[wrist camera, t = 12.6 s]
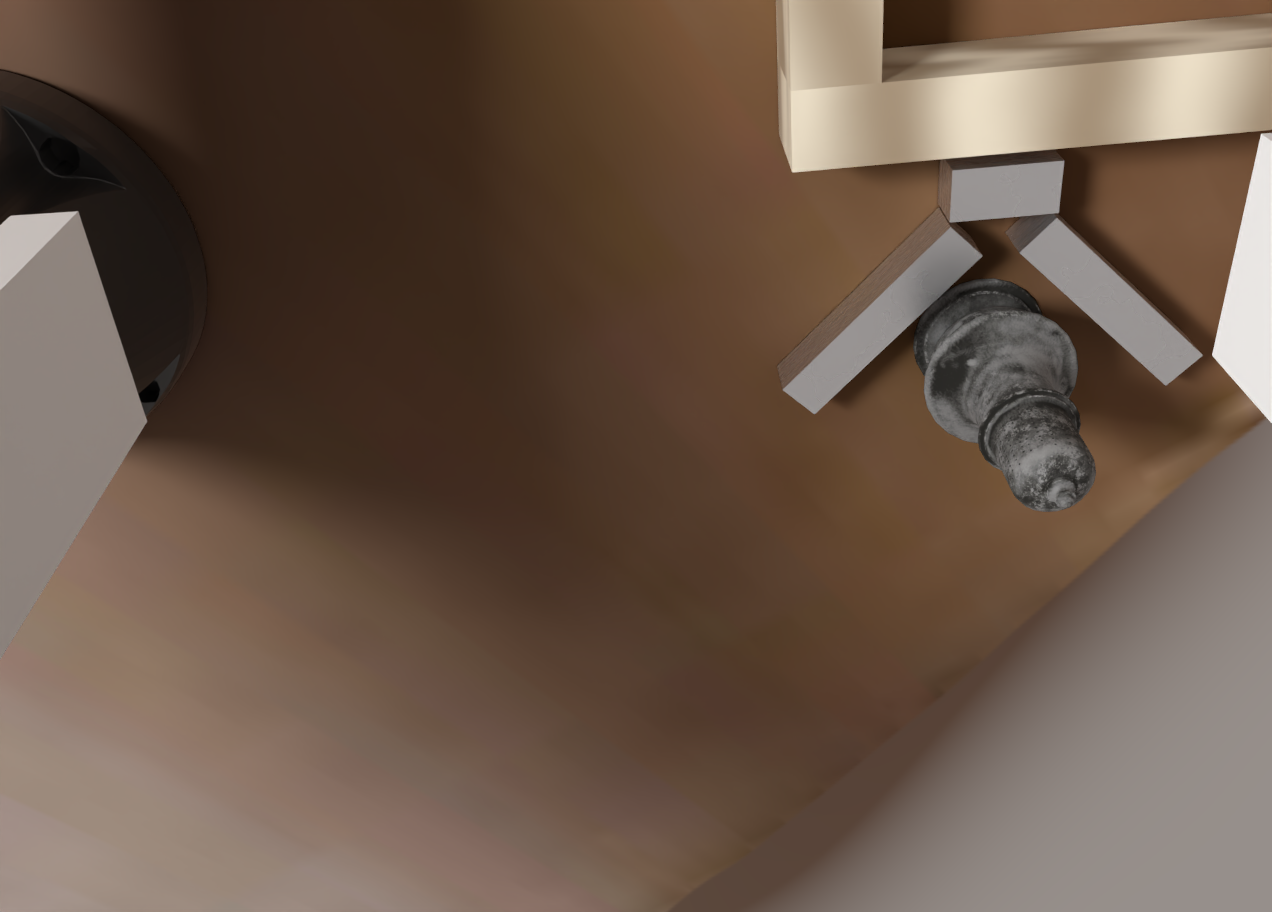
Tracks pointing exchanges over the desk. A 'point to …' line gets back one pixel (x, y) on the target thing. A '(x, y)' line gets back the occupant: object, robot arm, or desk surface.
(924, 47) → the bracket
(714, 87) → the desk surface
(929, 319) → the grey tall rounded piece
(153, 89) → the desk surface
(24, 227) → the robot arm
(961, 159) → the v block
